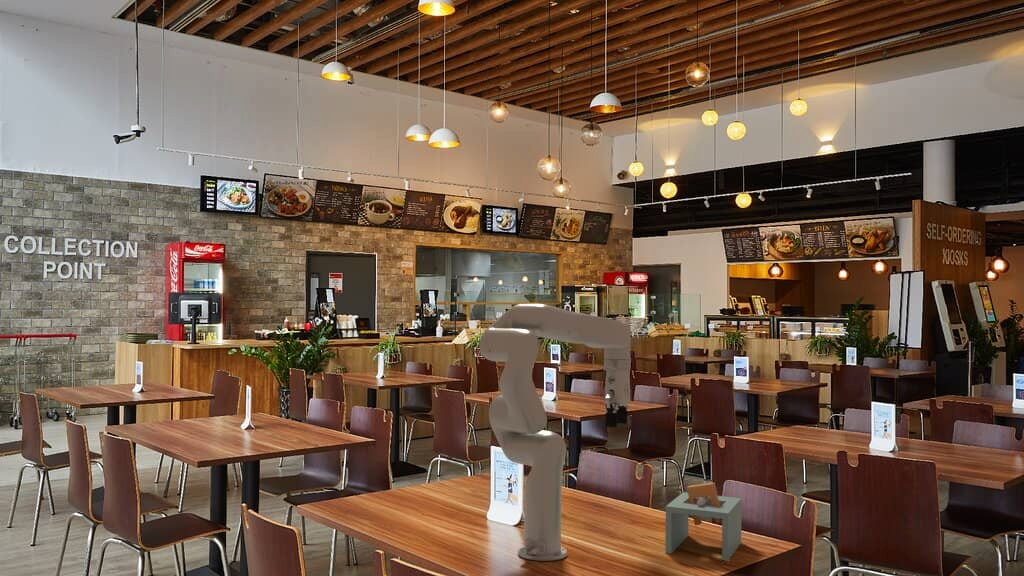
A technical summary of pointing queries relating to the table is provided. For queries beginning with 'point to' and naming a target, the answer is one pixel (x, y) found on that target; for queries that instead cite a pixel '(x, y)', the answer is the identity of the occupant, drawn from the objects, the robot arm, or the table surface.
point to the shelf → (682, 509)
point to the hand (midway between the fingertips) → (616, 425)
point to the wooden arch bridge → (703, 491)
